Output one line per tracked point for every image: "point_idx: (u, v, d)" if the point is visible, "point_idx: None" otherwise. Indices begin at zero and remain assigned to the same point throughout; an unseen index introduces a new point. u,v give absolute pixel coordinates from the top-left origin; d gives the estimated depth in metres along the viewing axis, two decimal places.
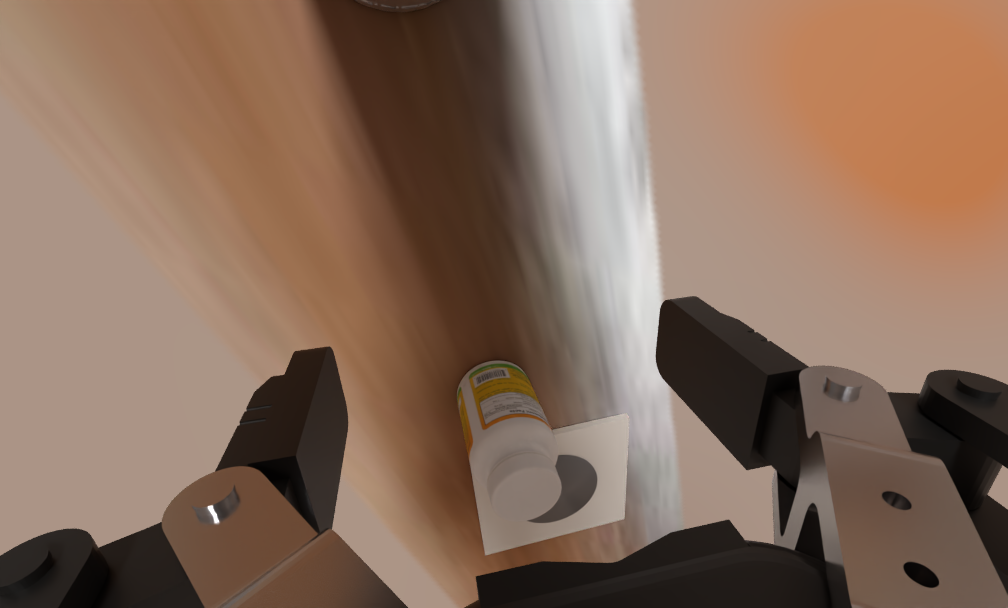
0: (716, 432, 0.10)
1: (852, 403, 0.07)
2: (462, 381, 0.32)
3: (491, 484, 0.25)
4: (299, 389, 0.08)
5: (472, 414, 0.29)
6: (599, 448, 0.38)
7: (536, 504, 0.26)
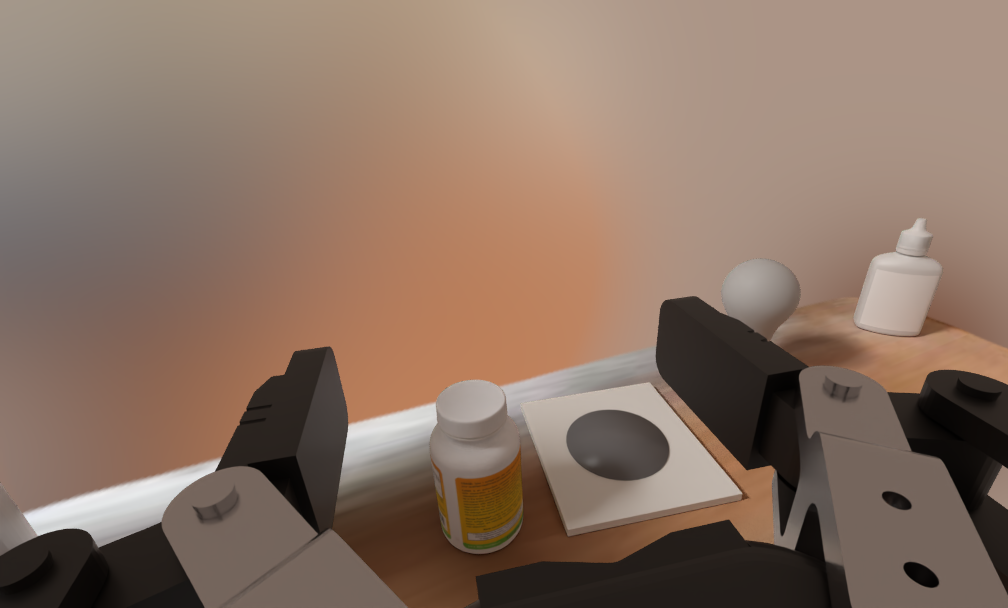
0: (716, 432, 0.10)
1: (852, 403, 0.07)
2: (459, 546, 0.28)
3: (460, 430, 0.25)
4: (299, 389, 0.08)
5: (451, 500, 0.27)
6: (557, 416, 0.38)
7: (484, 391, 0.27)
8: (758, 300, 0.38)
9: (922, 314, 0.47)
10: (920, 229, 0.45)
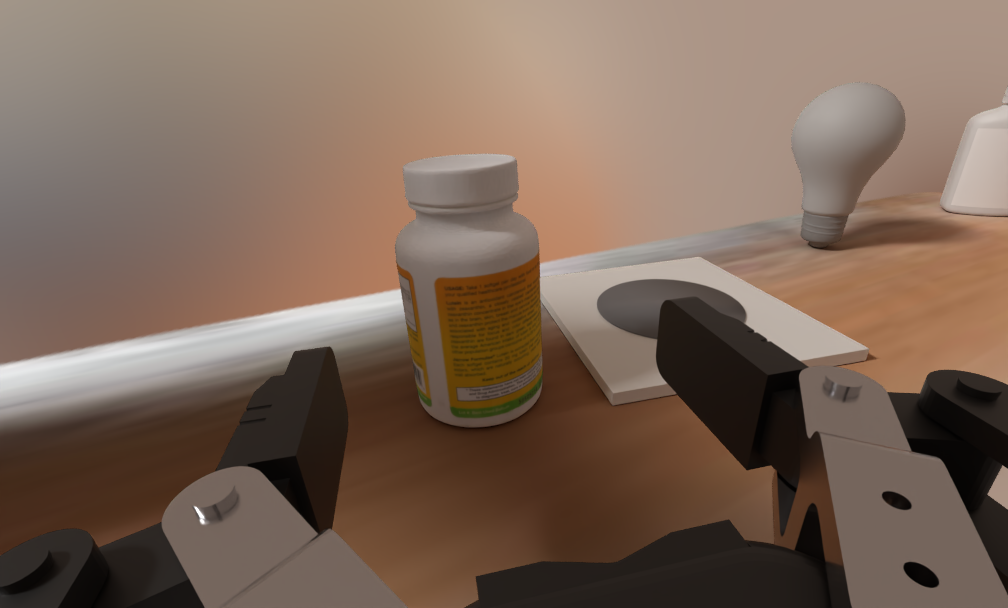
0: (716, 432, 0.10)
1: (853, 403, 0.07)
2: (445, 416, 0.18)
3: (440, 189, 0.15)
4: (299, 389, 0.08)
5: (429, 329, 0.16)
6: (582, 287, 0.28)
7: (481, 157, 0.17)
8: (851, 127, 0.28)
9: None
10: None
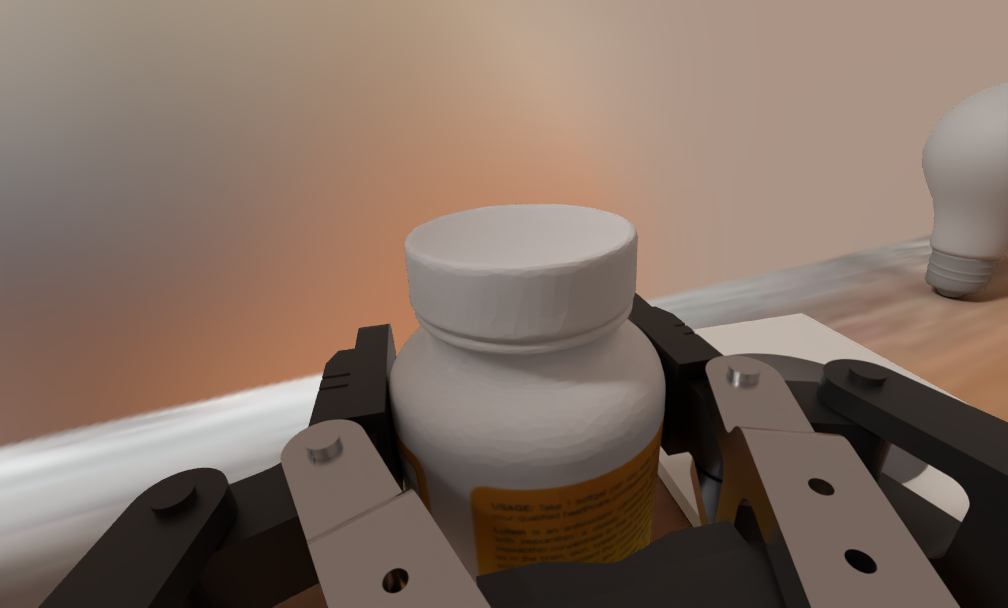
0: None
1: (747, 389, 0.08)
2: None
3: (489, 306, 0.07)
4: (372, 359, 0.09)
5: None
6: None
7: (557, 217, 0.09)
8: None
9: None
10: None
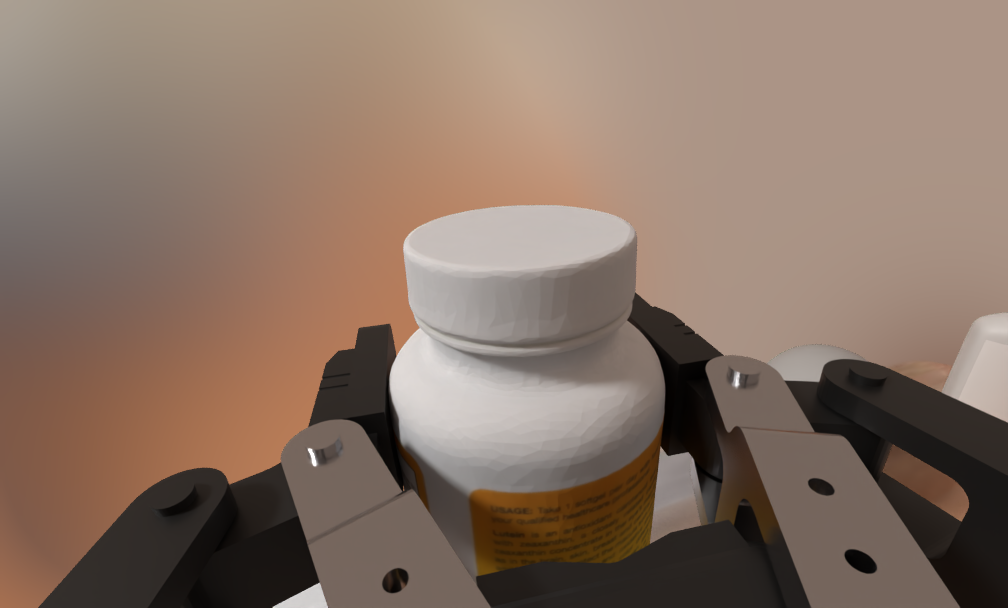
0: None
1: (747, 389, 0.08)
2: None
3: (488, 309, 0.07)
4: (372, 359, 0.09)
5: None
6: None
7: (557, 218, 0.09)
8: None
9: None
10: None
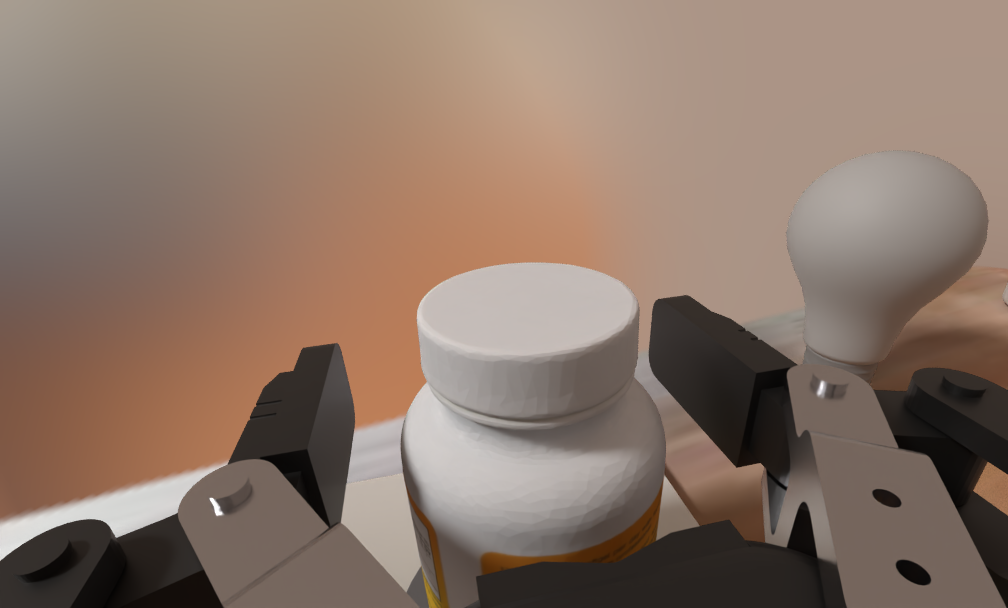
0: (707, 430, 0.10)
1: (838, 400, 0.07)
2: None
3: (499, 388, 0.07)
4: (308, 385, 0.09)
5: None
6: (405, 526, 0.16)
7: (562, 282, 0.09)
8: (894, 238, 0.16)
9: None
10: None
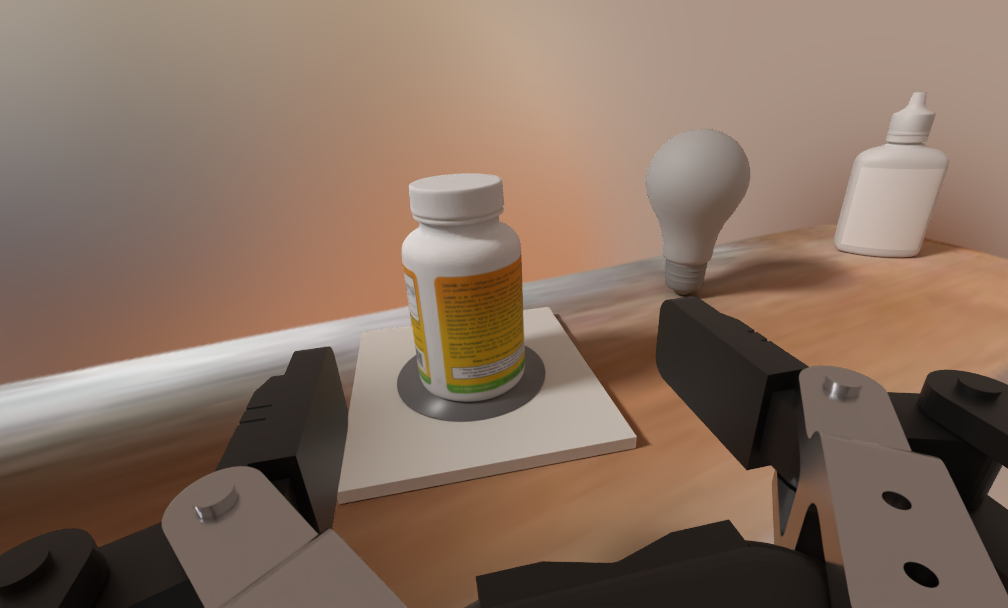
0: (716, 432, 0.10)
1: (852, 403, 0.07)
2: (442, 391, 0.21)
3: (439, 205, 0.18)
4: (299, 389, 0.08)
5: (429, 319, 0.20)
6: (403, 345, 0.27)
7: (473, 177, 0.20)
8: (688, 178, 0.27)
9: (922, 225, 0.35)
10: (917, 106, 0.33)
